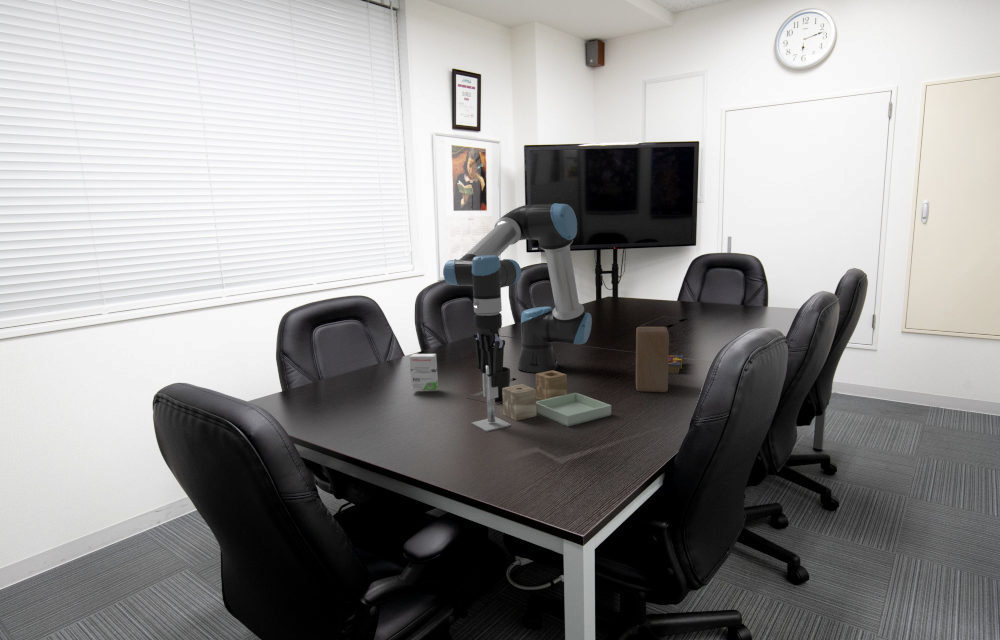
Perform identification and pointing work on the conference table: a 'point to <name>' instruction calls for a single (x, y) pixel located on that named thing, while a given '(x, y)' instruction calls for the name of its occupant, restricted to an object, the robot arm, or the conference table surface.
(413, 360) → the ink box
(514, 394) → the maple block
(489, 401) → the steel pin
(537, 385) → the oak block
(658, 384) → the block
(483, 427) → the mat
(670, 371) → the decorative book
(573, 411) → the sage tray
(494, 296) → the robot arm
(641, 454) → the conference table surface
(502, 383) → the mug
